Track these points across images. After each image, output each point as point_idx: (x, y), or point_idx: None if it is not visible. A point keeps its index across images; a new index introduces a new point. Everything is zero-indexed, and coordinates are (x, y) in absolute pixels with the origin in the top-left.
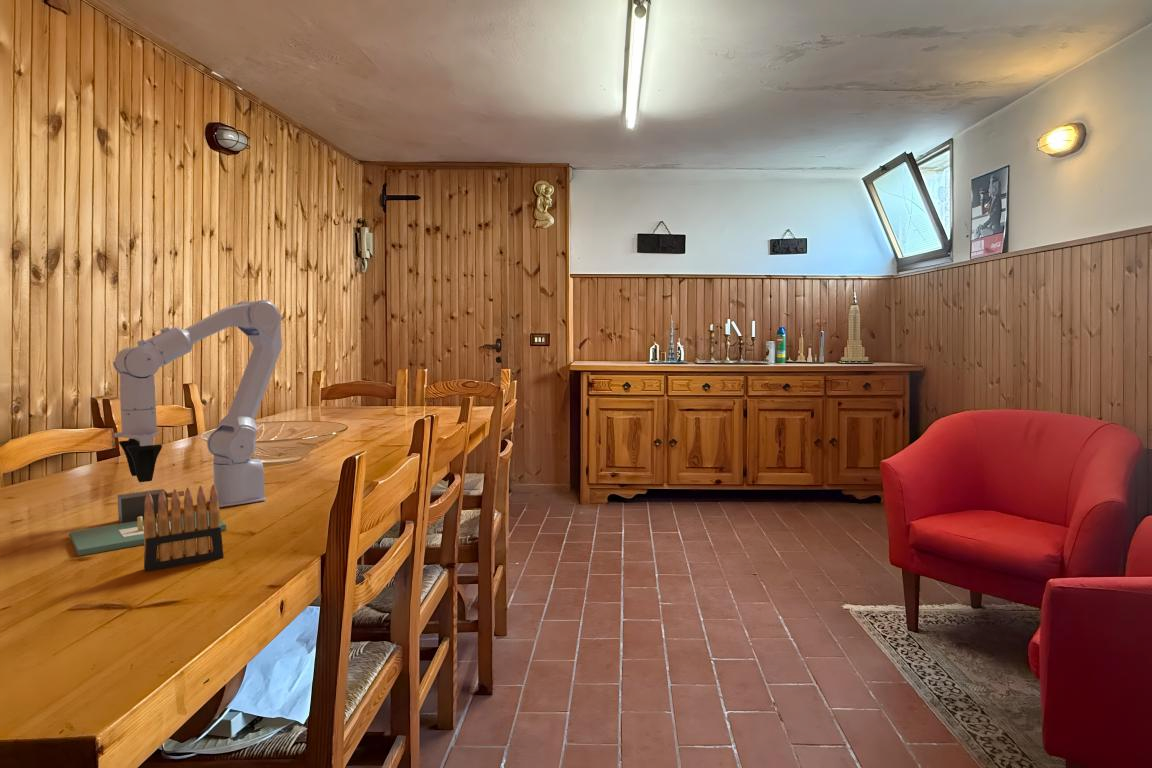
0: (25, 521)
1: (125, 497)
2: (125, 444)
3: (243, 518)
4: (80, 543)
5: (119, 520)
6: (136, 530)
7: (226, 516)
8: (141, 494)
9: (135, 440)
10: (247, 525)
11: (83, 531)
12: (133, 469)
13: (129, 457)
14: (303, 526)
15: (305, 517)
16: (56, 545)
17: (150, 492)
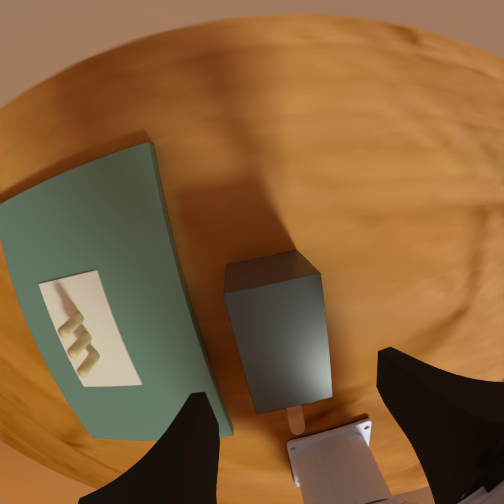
0: (400, 46)
1: (246, 307)
2: (482, 440)
3: None
4: (26, 199)
5: (282, 254)
6: (78, 309)
7: None
8: (276, 352)
9: (474, 483)
10: (118, 454)
11: (127, 180)
12: (391, 373)
13: (429, 399)
14: (97, 482)
15: None
16: (87, 134)
17: (294, 374)
